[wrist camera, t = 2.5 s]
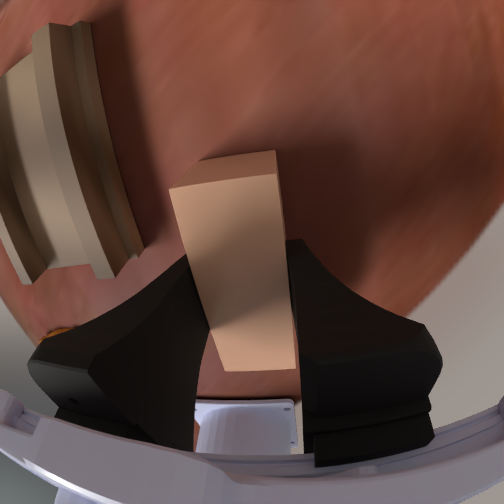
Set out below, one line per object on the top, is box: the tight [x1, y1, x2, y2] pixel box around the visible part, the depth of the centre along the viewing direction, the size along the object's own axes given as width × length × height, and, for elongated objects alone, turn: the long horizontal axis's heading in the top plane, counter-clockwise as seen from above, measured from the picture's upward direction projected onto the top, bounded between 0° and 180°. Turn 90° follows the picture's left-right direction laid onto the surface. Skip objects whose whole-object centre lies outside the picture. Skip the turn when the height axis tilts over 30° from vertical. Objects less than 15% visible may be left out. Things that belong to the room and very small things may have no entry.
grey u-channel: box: [0, 21, 144, 285], centre depth 10 cm, size 11×8×2 cm
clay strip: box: [169, 150, 296, 371], centre depth 11 cm, size 8×3×4 cm, turn 9°
